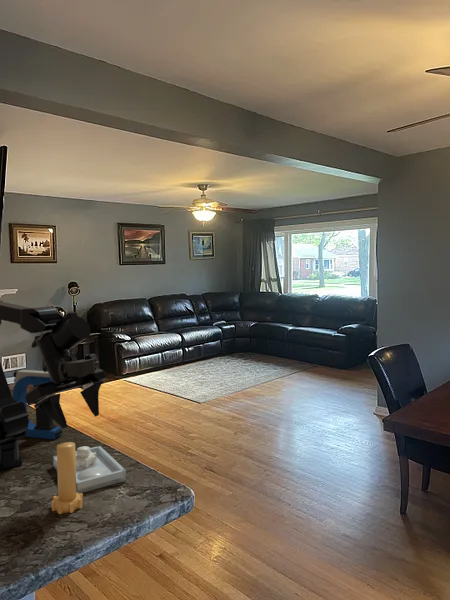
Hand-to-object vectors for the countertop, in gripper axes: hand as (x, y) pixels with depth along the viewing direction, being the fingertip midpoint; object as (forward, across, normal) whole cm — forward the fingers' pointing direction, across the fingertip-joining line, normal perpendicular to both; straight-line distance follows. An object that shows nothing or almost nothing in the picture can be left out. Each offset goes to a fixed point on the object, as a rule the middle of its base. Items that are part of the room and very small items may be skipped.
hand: (81, 421), depth 103 cm
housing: (+11, +6, +12) cm, 17 cm away
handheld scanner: (-4, +18, +39) cm, 43 cm away
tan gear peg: (+15, -7, +5) cm, 17 cm away
